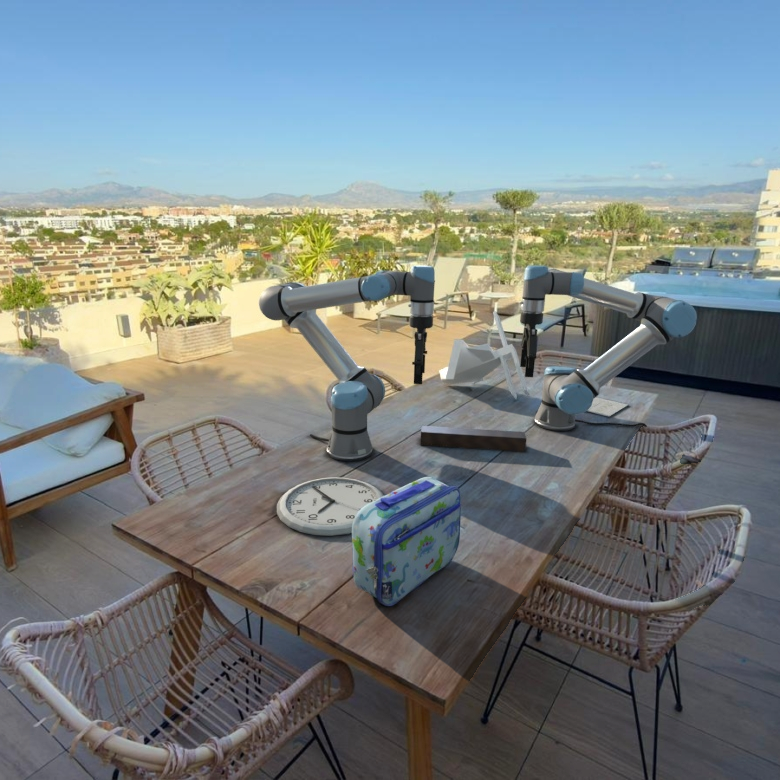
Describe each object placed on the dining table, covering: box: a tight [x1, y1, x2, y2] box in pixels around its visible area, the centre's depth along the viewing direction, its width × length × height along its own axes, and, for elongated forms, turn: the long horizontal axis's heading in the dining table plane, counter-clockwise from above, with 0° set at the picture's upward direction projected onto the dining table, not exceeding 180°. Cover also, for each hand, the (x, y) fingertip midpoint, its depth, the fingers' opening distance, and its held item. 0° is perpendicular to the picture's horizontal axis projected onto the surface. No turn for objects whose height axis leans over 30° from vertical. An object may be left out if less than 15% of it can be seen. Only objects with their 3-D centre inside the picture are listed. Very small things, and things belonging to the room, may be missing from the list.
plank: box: [419, 425, 527, 453], centre depth 183 cm, size 36×6×5 cm, turn 83°
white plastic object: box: [438, 310, 531, 400], centre depth 245 cm, size 37×45×31 cm
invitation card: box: [586, 396, 629, 418], centre depth 226 cm, size 21×1×15 cm
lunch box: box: [351, 476, 462, 607], centre depth 111 cm, size 26×11×21 cm, turn 135°
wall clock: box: [276, 476, 385, 537], centre depth 142 cm, size 30×2×30 cm
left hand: (419, 378), depth 175 cm, fingers open, 13 cm apart
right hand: (526, 371), depth 185 cm, fingers open, 13 cm apart
